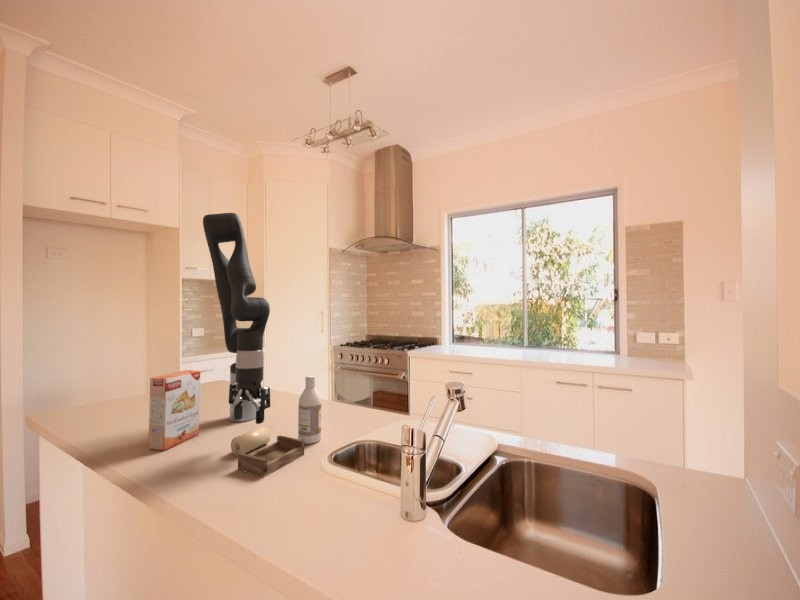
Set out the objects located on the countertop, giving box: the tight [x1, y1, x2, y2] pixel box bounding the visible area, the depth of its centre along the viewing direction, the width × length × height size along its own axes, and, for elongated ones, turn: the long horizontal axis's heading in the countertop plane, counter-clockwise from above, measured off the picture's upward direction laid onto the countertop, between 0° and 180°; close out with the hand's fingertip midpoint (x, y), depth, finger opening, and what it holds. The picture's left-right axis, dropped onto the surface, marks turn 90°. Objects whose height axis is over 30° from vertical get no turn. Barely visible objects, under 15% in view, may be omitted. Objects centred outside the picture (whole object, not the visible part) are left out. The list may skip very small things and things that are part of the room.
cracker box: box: [148, 369, 201, 452], centre depth 114 cm, size 14×6×21 cm, turn 168°
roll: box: [230, 426, 271, 456], centre depth 109 cm, size 10×5×5 cm, turn 155°
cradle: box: [237, 434, 305, 477], centre depth 101 cm, size 15×9×4 cm, turn 155°
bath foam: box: [297, 375, 322, 445], centre depth 116 cm, size 7×7×20 cm
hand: (248, 421), depth 109 cm, fingers open, 8 cm apart
